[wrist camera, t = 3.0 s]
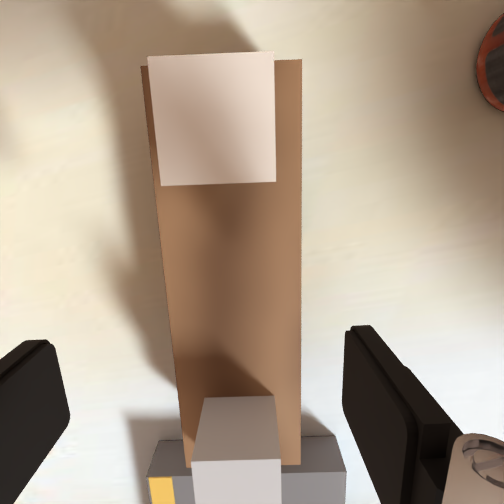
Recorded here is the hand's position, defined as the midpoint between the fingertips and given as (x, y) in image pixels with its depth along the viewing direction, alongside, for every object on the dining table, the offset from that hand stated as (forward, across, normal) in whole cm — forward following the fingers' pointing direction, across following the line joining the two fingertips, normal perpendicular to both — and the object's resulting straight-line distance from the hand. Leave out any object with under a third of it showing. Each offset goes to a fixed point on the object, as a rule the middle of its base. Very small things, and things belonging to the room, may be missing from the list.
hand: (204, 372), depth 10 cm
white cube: (+6, -1, +8) cm, 10 cm away
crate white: (+6, -1, -8) cm, 10 cm away
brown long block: (+11, -1, 0) cm, 11 cm away
